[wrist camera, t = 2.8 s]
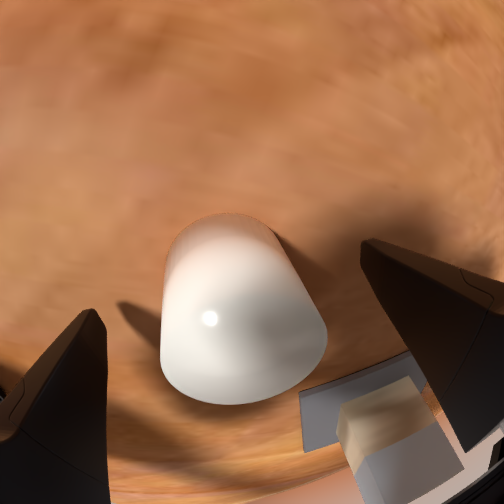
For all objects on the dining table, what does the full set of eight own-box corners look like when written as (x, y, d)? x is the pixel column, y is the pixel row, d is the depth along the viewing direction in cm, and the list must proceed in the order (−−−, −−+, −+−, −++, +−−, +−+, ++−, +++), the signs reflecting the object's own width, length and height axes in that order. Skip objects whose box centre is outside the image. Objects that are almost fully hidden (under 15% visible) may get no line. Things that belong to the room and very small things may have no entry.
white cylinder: (185, 323, 11) (191, 415, 8) (148, 231, 9) (131, 320, 6) (288, 298, 11) (326, 381, 8) (275, 200, 9) (327, 271, 6)
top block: (353, 476, 15) (372, 520, 12) (364, 456, 13) (389, 512, 9) (415, 447, 16) (435, 487, 12) (436, 420, 13) (464, 468, 10)
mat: (303, 449, 20) (304, 452, 20) (298, 392, 15) (300, 398, 15) (409, 406, 21) (411, 409, 21) (443, 333, 16) (446, 337, 15)
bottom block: (335, 432, 19) (353, 476, 15) (340, 404, 16) (364, 456, 13) (393, 408, 19) (415, 447, 16) (408, 375, 17) (436, 420, 13)
